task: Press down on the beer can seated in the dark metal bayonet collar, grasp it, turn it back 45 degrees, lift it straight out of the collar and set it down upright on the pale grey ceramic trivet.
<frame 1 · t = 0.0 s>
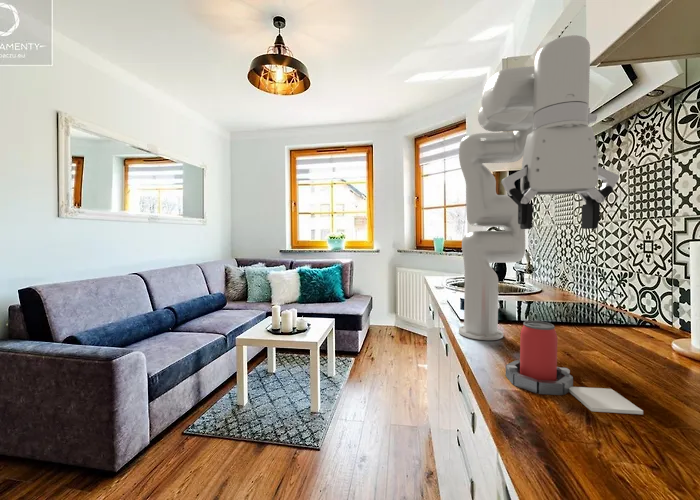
hand: (557, 228, 53), 31 cm above the countertop, fingers open, 9 cm apart
beer can: (537, 382, 67), resting in collar
collar: (537, 381, 67), on the countertop
trivet: (601, 400, 59), on the countertop
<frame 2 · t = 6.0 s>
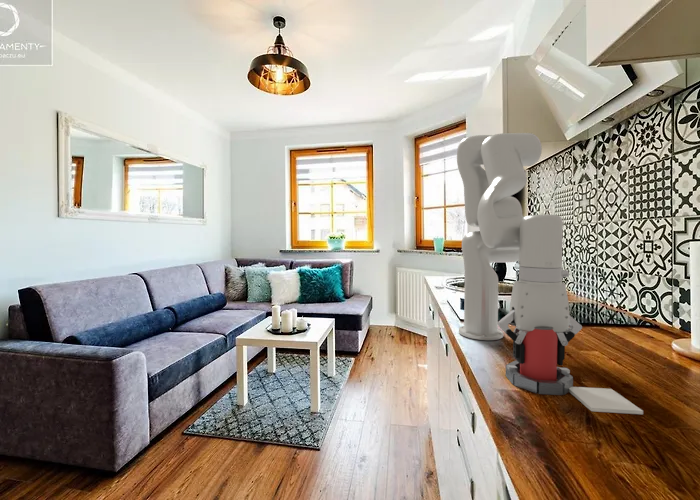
hand: (538, 361, 66), 4 cm above the countertop, fingers closed on beer can, 6 cm apart
beer can: (537, 382, 67), resting in collar, touching gripper
when the fingers open (6 cm above the countertop, at t = 11.8 s): beer can drops 1 cm, resting on trivet.
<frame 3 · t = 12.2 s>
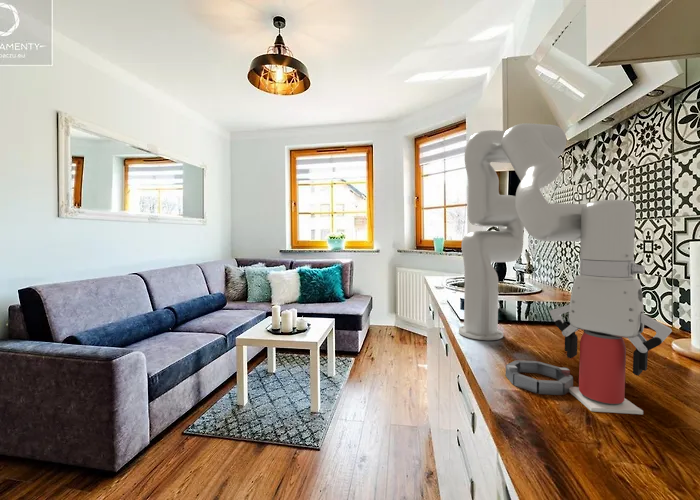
hand: (602, 364, 58), 7 cm above the countertop, fingers open, 9 cm apart
beer can: (600, 398, 59), resting on trivet
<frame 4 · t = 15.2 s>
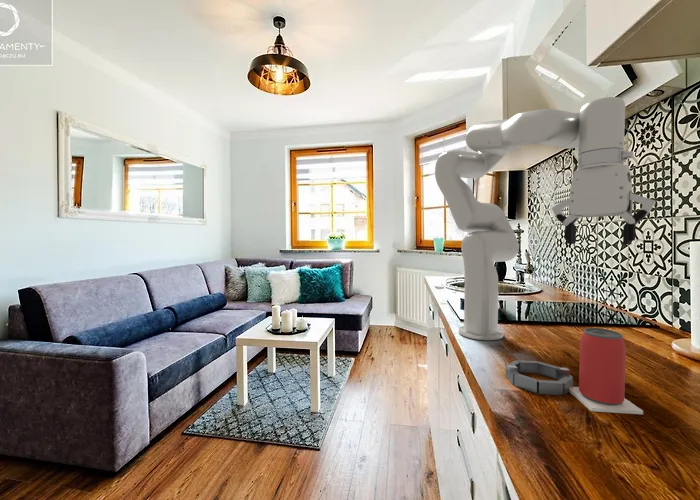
hand: (597, 244, 68), 28 cm above the countertop, fingers open, 9 cm apart
nothing on the countertop moved.
at the end: beer can inside the target area (0.2 cm from its centre), resting on trivet; beer can tilted 0°; the gripper is holding nothing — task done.
